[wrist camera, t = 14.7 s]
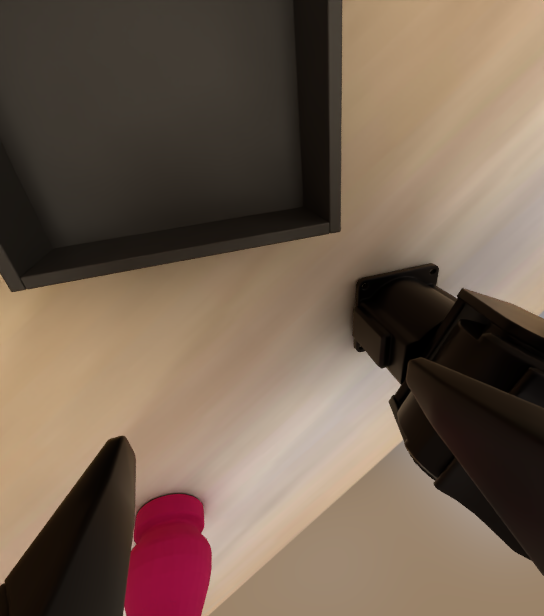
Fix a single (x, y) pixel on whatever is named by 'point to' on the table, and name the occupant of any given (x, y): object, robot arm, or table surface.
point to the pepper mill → (169, 559)
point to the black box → (164, 131)
